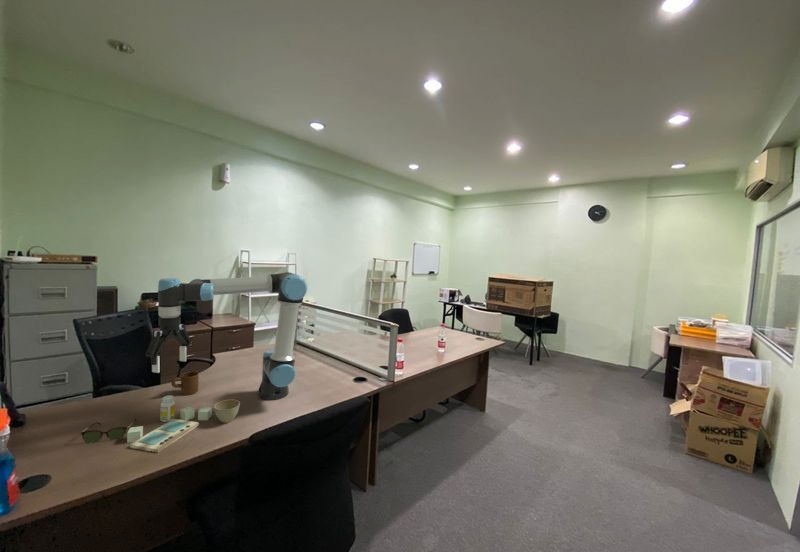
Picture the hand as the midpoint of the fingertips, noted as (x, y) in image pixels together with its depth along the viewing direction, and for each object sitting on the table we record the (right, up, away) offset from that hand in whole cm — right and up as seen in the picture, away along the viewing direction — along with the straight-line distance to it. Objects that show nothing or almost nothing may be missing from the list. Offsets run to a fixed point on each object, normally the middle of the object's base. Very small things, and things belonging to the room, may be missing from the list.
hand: (170, 366), depth 140 cm
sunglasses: (-19, -25, -6) cm, 32 cm away
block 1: (-7, -26, -10) cm, 28 cm away
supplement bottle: (-5, -25, +6) cm, 26 cm away
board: (+3, -26, -6) cm, 27 cm away
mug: (-13, -22, +30) cm, 40 cm away
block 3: (+9, -25, +9) cm, 28 cm away
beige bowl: (+19, -26, +8) cm, 34 cm away
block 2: (+2, -25, +8) cm, 26 cm away
